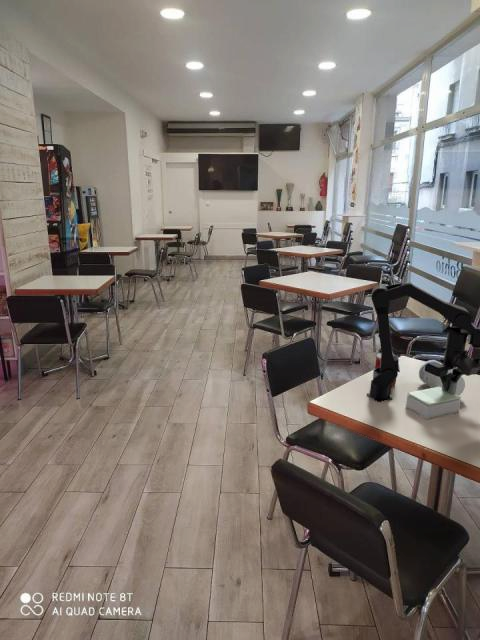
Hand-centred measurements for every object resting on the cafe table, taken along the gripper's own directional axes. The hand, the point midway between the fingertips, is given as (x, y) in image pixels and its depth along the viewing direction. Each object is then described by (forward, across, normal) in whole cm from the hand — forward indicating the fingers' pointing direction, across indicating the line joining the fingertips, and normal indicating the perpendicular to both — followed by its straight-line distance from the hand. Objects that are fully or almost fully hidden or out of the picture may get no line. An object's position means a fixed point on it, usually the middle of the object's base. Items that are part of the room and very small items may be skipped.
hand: (448, 390), depth 147 cm
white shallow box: (+6, -6, 0) cm, 9 cm away
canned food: (+6, -6, +23) cm, 25 cm away
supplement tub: (+1, +10, +18) cm, 20 cm away
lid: (+1, -6, 0) cm, 6 cm away
